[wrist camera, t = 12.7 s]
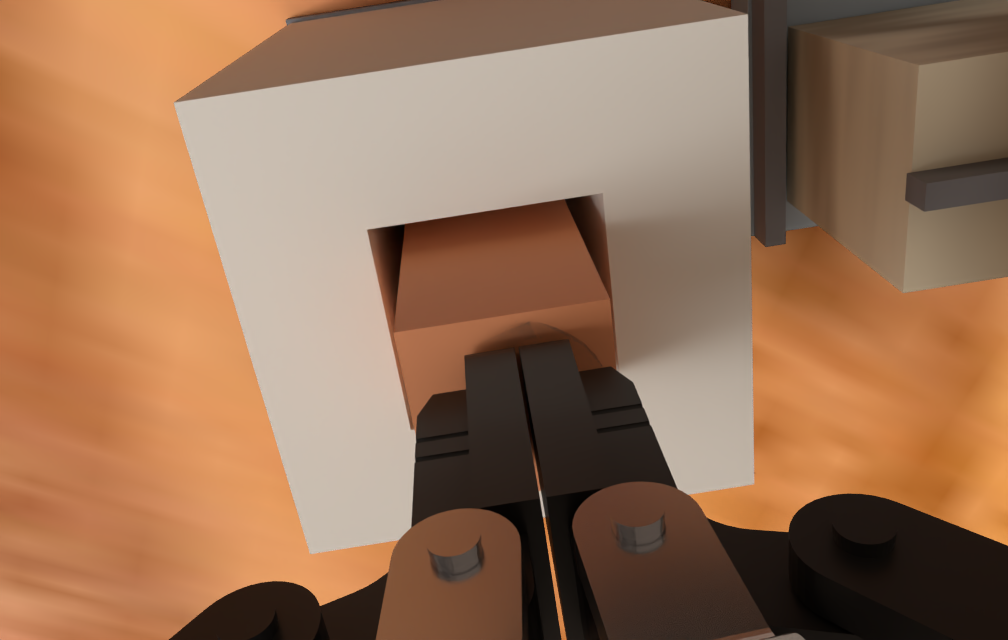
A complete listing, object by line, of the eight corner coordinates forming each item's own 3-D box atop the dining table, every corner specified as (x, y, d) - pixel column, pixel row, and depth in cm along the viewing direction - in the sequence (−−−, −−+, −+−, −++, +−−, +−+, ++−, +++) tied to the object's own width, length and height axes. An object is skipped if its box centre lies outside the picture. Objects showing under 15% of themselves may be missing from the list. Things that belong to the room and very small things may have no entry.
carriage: (783, 201, 25) (916, 308, 18) (784, 27, 23) (935, 72, 16) (988, 169, 25) (1199, 264, 18) (1007, -8, 23) (1254, 23, 16)
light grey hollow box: (357, 311, 28) (306, 558, 17) (288, 18, 24) (165, 97, 13) (634, 268, 28) (759, 487, 17) (610, -32, 24) (754, 6, 13)
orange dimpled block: (433, 281, 21) (431, 508, 13) (411, 163, 20) (392, 332, 12) (553, 263, 21) (626, 477, 13) (539, 144, 20) (609, 298, 12)
